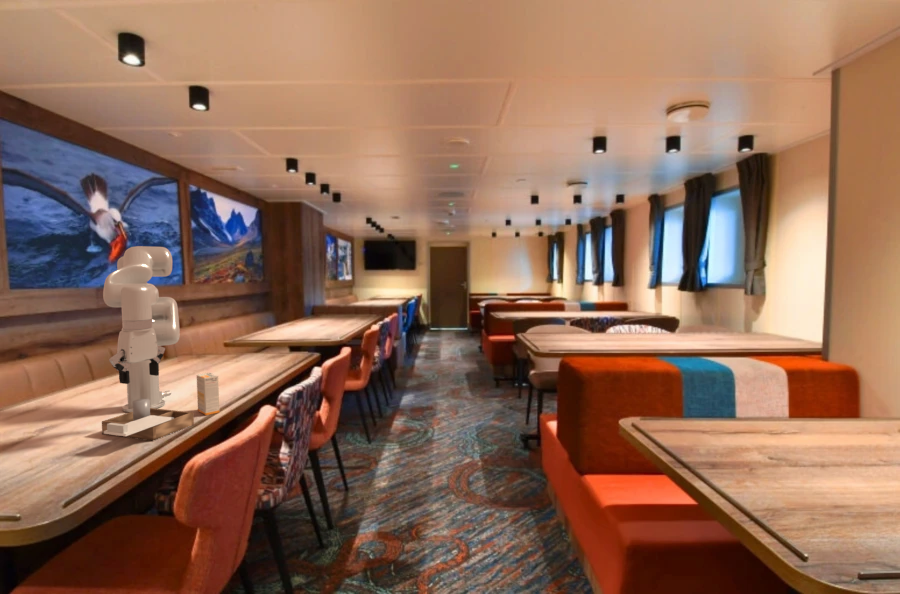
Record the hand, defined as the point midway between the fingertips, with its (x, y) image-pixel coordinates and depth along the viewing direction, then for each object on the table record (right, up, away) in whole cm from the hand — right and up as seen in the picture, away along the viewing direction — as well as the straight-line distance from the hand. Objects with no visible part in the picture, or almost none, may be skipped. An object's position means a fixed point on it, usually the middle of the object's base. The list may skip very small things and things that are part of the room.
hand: (140, 379), depth 136 cm
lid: (+7, -12, -10) cm, 17 cm away
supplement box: (+12, -15, +17) cm, 25 cm away
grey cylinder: (+1, -15, 0) cm, 15 cm away
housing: (+3, -16, -1) cm, 16 cm away
